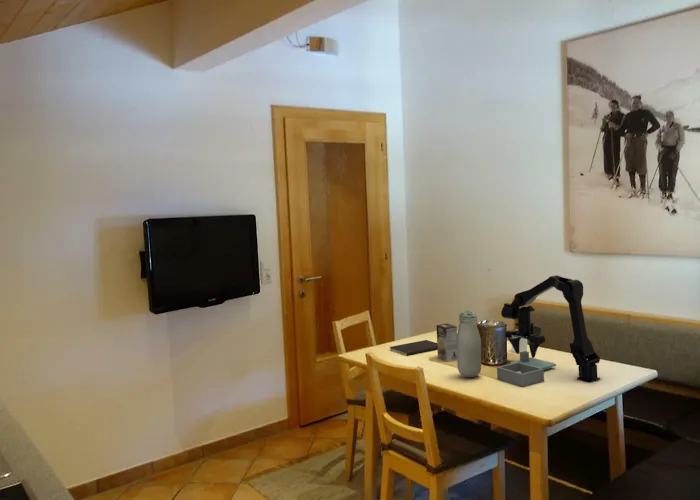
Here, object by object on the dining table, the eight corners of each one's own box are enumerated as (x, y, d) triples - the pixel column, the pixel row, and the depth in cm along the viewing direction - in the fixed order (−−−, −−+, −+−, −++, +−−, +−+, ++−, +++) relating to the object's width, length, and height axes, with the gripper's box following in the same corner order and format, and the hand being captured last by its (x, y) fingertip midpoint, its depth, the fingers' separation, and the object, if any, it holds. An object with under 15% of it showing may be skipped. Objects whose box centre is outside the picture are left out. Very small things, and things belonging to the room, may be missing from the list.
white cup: (509, 353, 291) (508, 332, 290) (513, 349, 298) (512, 329, 297) (526, 354, 287) (525, 333, 286) (529, 350, 294) (528, 329, 293)
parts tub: (544, 381, 244) (543, 369, 243) (522, 387, 238) (521, 374, 237) (518, 373, 256) (518, 362, 255) (497, 379, 250) (496, 367, 250)
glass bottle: (464, 381, 250) (461, 314, 248) (454, 375, 260) (451, 310, 258) (486, 378, 252) (483, 311, 250) (475, 372, 262) (472, 308, 260)
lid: (556, 368, 260) (555, 354, 260) (534, 374, 254) (534, 360, 254) (531, 362, 273) (530, 348, 272) (510, 367, 267) (509, 353, 266)
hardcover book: (389, 351, 310) (389, 346, 310) (426, 344, 321) (426, 339, 321) (407, 357, 296) (407, 352, 296) (445, 349, 307) (444, 345, 307)
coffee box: (437, 357, 290) (435, 324, 289) (448, 355, 292) (447, 323, 291) (447, 362, 281) (445, 327, 280) (459, 360, 283) (457, 326, 282)
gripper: (553, 321, 261) (555, 356, 263) (522, 315, 278) (523, 349, 279) (535, 324, 256) (536, 361, 257) (503, 318, 272) (505, 353, 274)
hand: (525, 355), depth 267 cm, fingers open, 9 cm apart
